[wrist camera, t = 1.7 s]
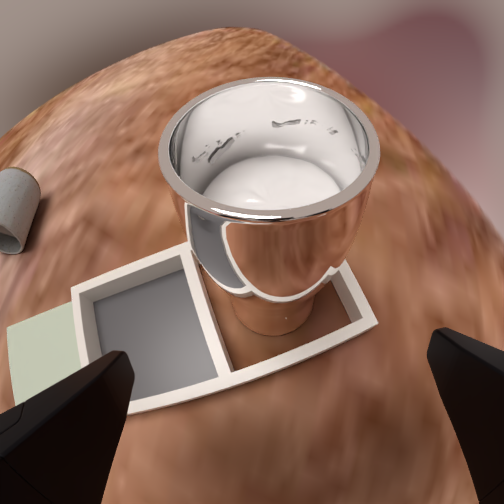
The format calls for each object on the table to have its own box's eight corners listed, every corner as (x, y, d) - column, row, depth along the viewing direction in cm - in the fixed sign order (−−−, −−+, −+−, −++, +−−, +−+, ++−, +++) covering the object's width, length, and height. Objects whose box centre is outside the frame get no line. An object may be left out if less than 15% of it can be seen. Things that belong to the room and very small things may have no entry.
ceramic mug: (53, 192, 28) (20, 152, 22) (35, 251, 25) (-10, 214, 18) (7, 208, 29) (-24, 177, 22) (-10, 259, 25) (-48, 231, 18)
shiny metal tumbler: (208, 315, 21) (105, 176, 7) (253, 240, 23) (229, 63, 10) (294, 358, 19) (347, 280, 5) (333, 275, 21) (400, 107, 8)
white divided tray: (307, 216, 24) (310, 198, 22) (366, 331, 19) (378, 323, 17) (9, 328, 21) (-7, 321, 18) (23, 428, 16) (5, 427, 14)
